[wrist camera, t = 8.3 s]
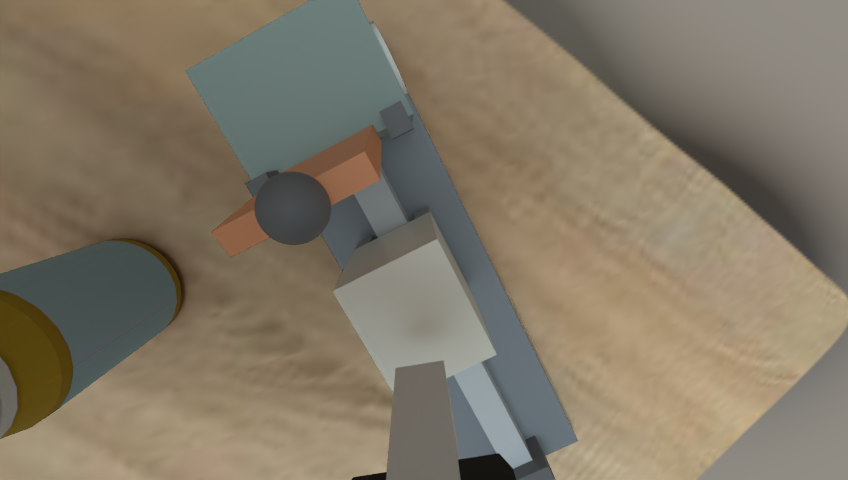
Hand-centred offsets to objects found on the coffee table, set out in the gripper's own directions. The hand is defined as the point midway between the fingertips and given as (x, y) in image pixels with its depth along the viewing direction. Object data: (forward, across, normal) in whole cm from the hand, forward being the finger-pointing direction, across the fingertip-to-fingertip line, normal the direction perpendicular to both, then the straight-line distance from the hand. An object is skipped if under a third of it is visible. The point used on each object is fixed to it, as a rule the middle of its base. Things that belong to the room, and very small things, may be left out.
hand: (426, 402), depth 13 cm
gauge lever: (+7, -3, +8) cm, 11 cm away
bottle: (+16, -20, +2) cm, 25 cm away
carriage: (+14, 0, 0) cm, 14 cm away
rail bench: (+16, 0, -1) cm, 16 cm away
